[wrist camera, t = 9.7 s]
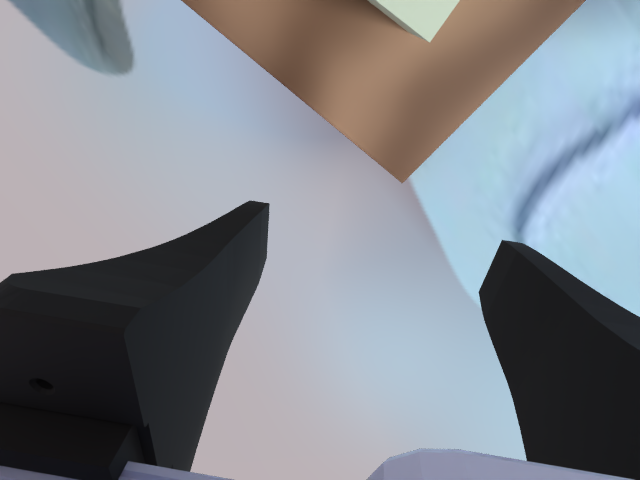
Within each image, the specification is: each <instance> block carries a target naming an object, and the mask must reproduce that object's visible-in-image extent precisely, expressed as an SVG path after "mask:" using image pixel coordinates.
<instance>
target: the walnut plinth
mask: <svg viewBox="0 0 640 480" xmlns="http://www.w3.org/2000/svg"><path fill="white" fill-rule="evenodd" d="M182 1H183V2H184V3H185V4H186V5H188V6H189V7H190V8H191V9H192V10H194V11H195V12H196V13H197V14H198V15H200V16H201V17H202V18H204V19H205V20H206V21H207V22H208V23H210V24H211V25H212V26H213V27H214V28H215V29H217V30H218V31H219V32H220V33H221V34H223V35H224V36H225V37H226V38H227V39H229V40H230V41H231V42H232V43H234V44H235V45H236V46H237V47H238V48H240V49H241V50H242V51H243V52H244V53H246V54H247V55H248V56H249V57H250V58H252V59H253V60H254V61H255V62H256V63H258V64H259V65H260V66H261V67H262V68H264V69H265V70H266V71H267V72H269V73H270V74H271V75H272V76H273V77H275V78H276V79H277V80H278V81H280V82H281V83H282V84H283V85H284V86H286V87H287V88H288V89H289V90H290V91H291V92H293V93H294V94H295V95H296V96H298V97H299V98H300V99H301V100H302V101H304V102H305V103H306V104H307V105H308V106H310V107H311V108H312V109H313V110H315V111H316V112H317V113H318V114H319V115H320V116H322V117H323V118H324V119H325V120H326V121H328V122H329V123H330V124H331V125H332V126H334V127H335V128H336V129H337V130H339V131H340V132H341V133H342V134H343V135H345V136H346V137H347V138H348V139H350V140H351V141H352V142H353V143H354V144H355V145H357V146H358V147H359V148H360V149H361V150H363V151H364V152H365V153H366V154H368V155H369V156H370V157H371V158H372V159H374V160H375V161H376V162H378V164H380V165H381V166H382V167H383V168H385V169H386V170H387V171H388V172H389V173H390V174H392V175H393V176H394V177H395V178H396V179H398V180H399V181H400V182H401V183H403V182H404V181H405V180H406V179H407V178H408V177H409V176H410V175H411V174H412V173H413V172H414V171H415V170H416V169H417V168H418V167H419V166H420V165H421V164H422V163H423V162H424V161H425V160H426V159H427V158H428V157H429V156H430V155H431V154H432V153H433V152H434V151H435V150H436V149H437V148H438V147H439V146H440V145H441V144H442V143H443V142H444V141H445V140H446V139H447V138H448V137H449V136H450V135H451V134H452V133H453V132H454V131H455V130H456V129H457V128H458V127H459V126H460V125H461V124H462V123H463V122H464V121H465V120H466V119H467V118H468V117H469V116H470V115H471V114H472V113H473V112H474V111H475V110H476V109H477V108H478V107H479V106H480V105H481V104H482V103H483V102H484V101H485V100H486V99H487V98H488V97H489V96H490V95H491V94H492V93H493V92H494V91H495V90H496V89H497V88H498V87H499V86H500V85H501V84H502V83H503V82H504V81H505V80H506V79H507V78H508V77H509V76H510V75H511V74H512V73H513V72H514V71H515V70H516V69H517V68H518V67H519V66H520V65H521V64H522V63H523V62H524V61H525V60H526V59H527V58H528V57H529V56H530V55H531V54H532V53H533V52H534V51H535V50H536V49H537V48H538V47H539V46H540V45H541V44H542V43H543V42H544V41H545V40H546V39H547V38H548V37H549V36H550V35H551V34H553V33H554V32H555V31H556V30H557V29H558V28H559V27H560V26H561V25H562V24H563V23H564V22H565V21H566V20H567V19H568V18H569V17H570V16H571V15H572V14H573V13H574V12H575V11H576V10H577V9H578V8H579V7H580V6H581V5H582V4H583V3H584V2H585V1H586V0H460V1H459V2H458V4H457V5H456V6H455V8H454V9H453V11H452V12H451V13H450V15H449V16H448V18H447V19H446V20H445V22H444V23H443V25H442V26H441V27H440V29H439V30H438V32H437V33H436V35H435V36H434V37H433V39H432V40H431V42H428V41H425V40H423V39H421V38H419V37H417V36H415V35H413V34H411V33H409V32H407V31H406V30H405V29H404V28H402V27H401V26H400V25H398V24H397V23H396V22H395V21H393V20H392V19H391V18H389V17H388V16H387V15H386V14H384V13H383V12H382V11H380V10H379V9H378V8H376V7H375V6H374V5H373V4H371V3H370V2H369V1H367V0H182Z"/></svg>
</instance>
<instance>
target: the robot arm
mask: <svg viewBox="0 0 640 480" xmlns="http://www.w3.org/2000/svg"><path fill="white" fill-rule="evenodd" d="M268 221H269V203H263V202H256V201H248V202H246V203H244V204H242V205H241V206H239V207H237V208H235V209H234V210H232V211H230V212H229V213H227V214H225V215H223V216H221V217H220V218H218V219H216V220H214V221H212V222H211V223H209V224H207V225H204V226H203V227H201V228H198V229H196V230H194V231H192V232H190V233H188V234H186V235H184V236H181V237H179V238H176V239H174V240H171V241H169V242H166V243H163V244H161V245H158V246H155V247H152V248H149V249H145V250H142V251H138V252H135V253H131V254H128V255H124V256H120V257H117V258H112V259H108V260H103V261H98V262H94V263H89V264H83V265H77V266H72V267H65V268H58V269H50V270H41V271H33V272H26V273H16V274H11V275H10V276H9V277H8V278H6V279H5V280H3V281H2V282H1V283H0V480H232V479H227V478H221V477H216V476H209V475H204V474H198V473H192V472H190V470H191V466H192V463H193V459H194V456H195V453H196V449H197V446H198V442H199V439H200V436H201V433H202V429H203V426H204V423H205V419H206V416H207V413H208V410H209V407H210V403H211V401H212V397H213V394H214V391H215V388H216V385H217V382H218V379H219V376H220V373H221V370H222V367H223V364H224V361H225V358H226V355H227V352H228V350H229V347H230V345H231V342H232V340H233V337H234V335H235V333H236V331H237V329H238V327H239V325H240V323H241V320H242V318H243V316H244V314H245V312H246V310H247V308H248V305H249V303H250V301H251V299H252V296H253V295H254V293H255V290H256V288H257V286H258V284H259V281H260V278H261V275H262V271H263V268H264V264H265V261H266V258H267V238H268ZM479 296H480V302H481V307H482V312H483V316H484V320H485V323H486V326H487V329H488V332H489V335H490V337H491V340H492V343H493V345H494V348H495V351H496V353H497V356H498V359H499V361H500V364H501V367H502V369H503V372H504V374H505V377H506V380H507V383H508V386H509V389H510V392H511V395H512V398H513V402H514V406H515V410H516V414H517V418H518V422H519V426H520V430H521V435H522V439H523V444H524V449H525V453H526V458H527V461H523V460H517V459H511V458H506V457H500V456H494V455H488V454H482V453H476V452H471V451H465V450H459V449H417V450H413V451H410V452H407V453H403V454H400V455H397V456H394V457H390V458H388V459H387V460H386V461H385V462H383V464H381V466H379V467H378V468H377V470H375V472H374V473H373V474H372V475H371V476H370V477H369V478H368V479H367V480H640V317H638V316H637V315H635V314H633V313H631V312H630V311H628V310H626V309H624V308H623V307H621V306H619V305H618V304H616V303H615V302H613V301H611V300H610V299H608V298H607V297H605V296H603V295H602V294H600V293H599V292H597V291H595V290H594V289H592V288H591V287H589V286H588V285H586V284H585V283H583V282H582V281H580V280H579V279H577V278H576V277H574V276H573V275H571V274H570V273H569V272H567V271H566V270H564V269H563V268H561V267H560V266H558V265H557V264H555V263H554V262H552V261H551V260H549V259H548V258H546V257H545V256H543V255H542V254H540V253H539V252H537V251H536V250H534V249H532V248H531V247H529V246H527V245H525V244H523V243H518V242H511V241H505V240H502V241H501V244H500V246H499V248H498V250H497V253H496V255H495V257H494V259H493V261H492V264H491V266H490V268H489V270H488V273H487V275H486V277H485V279H484V281H483V284H482V286H481V288H480V290H479Z"/></svg>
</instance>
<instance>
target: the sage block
mask: <svg viewBox="0 0 640 480" xmlns="http://www.w3.org/2000/svg"><path fill="white" fill-rule="evenodd" d="M367 1H369V2H370V3H371V4H373V5H374V6H375V7H376V8H378V9H379V10H380V11H382V12H383V13H384V14H386V15H387V16H388V17H389V18H391V19H392V20H393V21H395V22H396V23H397V24H398V25H400V26H401V27H402V28H404V29H405V30H406V31H407V32H409V33H411V34H413V35H415V36H417V37H419V38H421V39H423V40H425V41H428V42H431V40H432V39H433V37H434V36H435V35H436V33H437V32H438V30H439V29H440V27H441V26H442V25H443V23H444V22H445V20H446V19H447V18H448V16H449V15H450V13H451V12H452V11H453V9H454V8H455V6H456V5H457V4H458V2H459V1H460V0H367Z"/></svg>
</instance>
